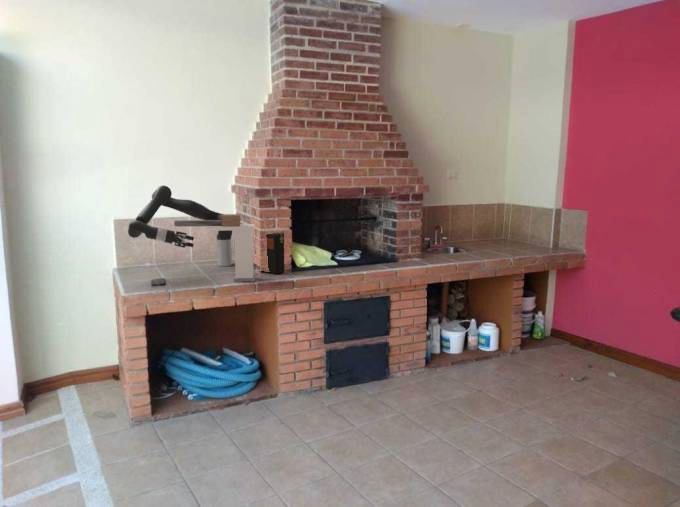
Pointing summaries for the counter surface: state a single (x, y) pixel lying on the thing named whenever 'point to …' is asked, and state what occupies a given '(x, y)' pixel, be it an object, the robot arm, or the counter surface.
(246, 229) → the shelf stand
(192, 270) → the counter surface
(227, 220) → the carriage
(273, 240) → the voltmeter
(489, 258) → the counter surface
